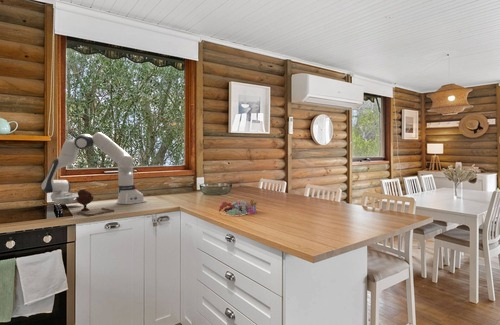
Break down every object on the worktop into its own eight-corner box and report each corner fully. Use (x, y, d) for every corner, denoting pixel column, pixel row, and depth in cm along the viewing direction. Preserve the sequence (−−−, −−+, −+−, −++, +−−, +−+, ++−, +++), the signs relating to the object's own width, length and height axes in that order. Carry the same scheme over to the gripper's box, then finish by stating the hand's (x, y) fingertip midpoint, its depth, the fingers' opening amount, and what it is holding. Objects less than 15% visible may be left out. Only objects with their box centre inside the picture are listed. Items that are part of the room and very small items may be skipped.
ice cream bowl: (86, 212, 208) (85, 190, 207) (72, 211, 210) (71, 190, 210) (97, 209, 218) (96, 188, 218) (83, 208, 221) (83, 188, 220)
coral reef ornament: (232, 208, 224) (232, 195, 223) (261, 211, 214) (261, 198, 213) (214, 215, 201) (214, 201, 201) (246, 218, 191) (246, 204, 191)
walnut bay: (102, 209, 218) (102, 207, 218) (114, 211, 211) (114, 209, 211) (77, 213, 203) (77, 212, 203) (88, 216, 196) (88, 214, 196)
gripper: (50, 196, 219) (60, 197, 212) (79, 192, 236) (89, 194, 229) (50, 204, 219) (60, 206, 212) (79, 200, 237) (89, 202, 229)
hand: (75, 200), depth 221 cm, fingers closed
